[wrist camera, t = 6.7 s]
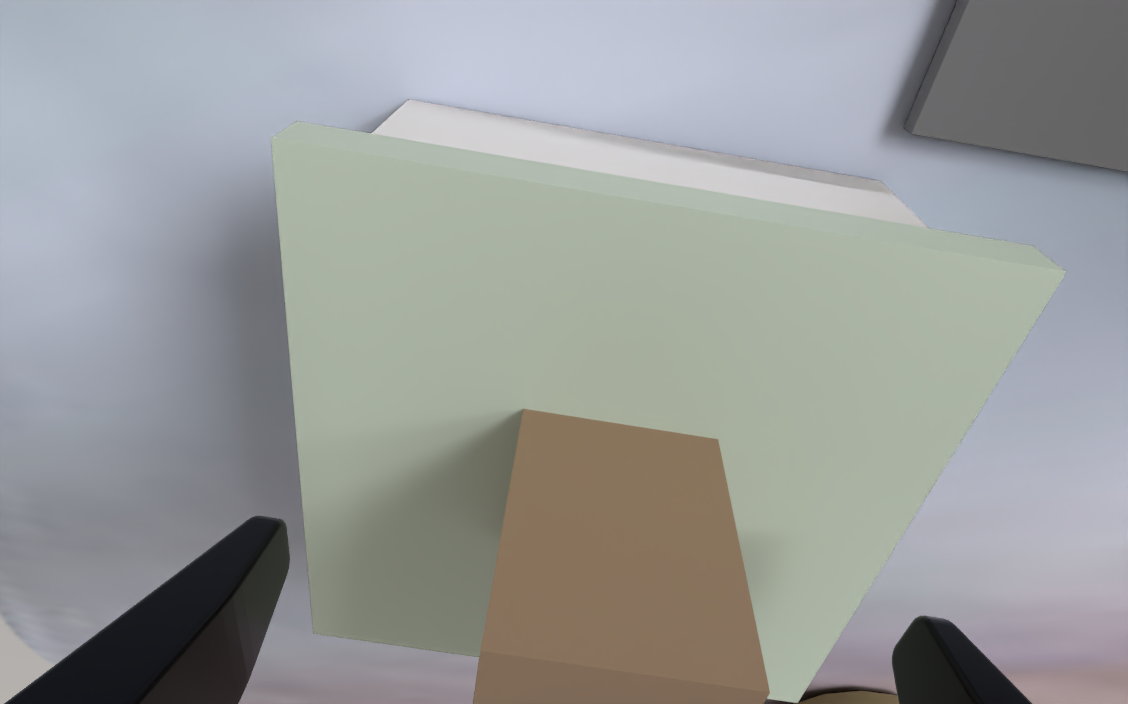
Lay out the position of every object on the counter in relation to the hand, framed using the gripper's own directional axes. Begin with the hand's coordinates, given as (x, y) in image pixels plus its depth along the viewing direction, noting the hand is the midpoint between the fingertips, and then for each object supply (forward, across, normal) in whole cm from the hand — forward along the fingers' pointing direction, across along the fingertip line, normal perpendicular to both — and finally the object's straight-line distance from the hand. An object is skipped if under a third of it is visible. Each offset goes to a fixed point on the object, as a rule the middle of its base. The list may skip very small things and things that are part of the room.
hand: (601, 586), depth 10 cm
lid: (+3, 0, 0) cm, 3 cm away
